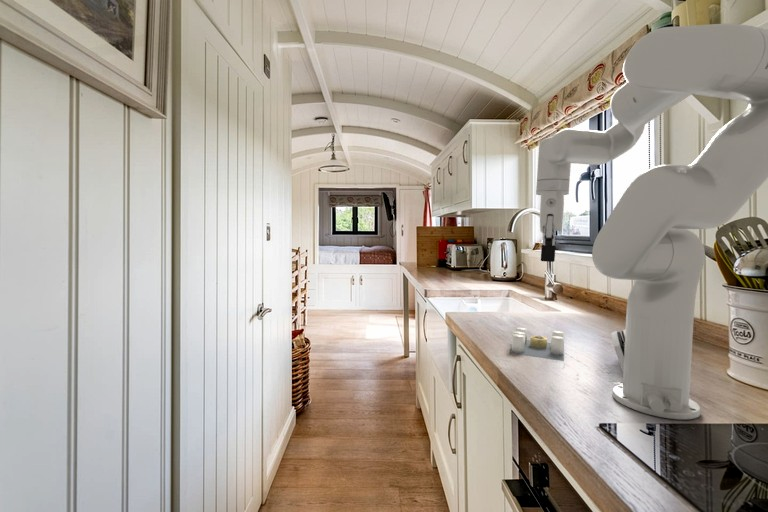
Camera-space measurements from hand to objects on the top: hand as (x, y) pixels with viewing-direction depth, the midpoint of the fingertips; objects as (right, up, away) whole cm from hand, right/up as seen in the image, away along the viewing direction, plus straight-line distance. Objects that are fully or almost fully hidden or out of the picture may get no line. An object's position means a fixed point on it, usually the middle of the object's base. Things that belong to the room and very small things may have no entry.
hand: (547, 261), depth 95 cm
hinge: (+14, -25, -10) cm, 30 cm away
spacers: (-1, -24, +4) cm, 24 cm away
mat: (-1, -24, +4) cm, 24 cm away
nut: (0, -23, +6) cm, 24 cm away
